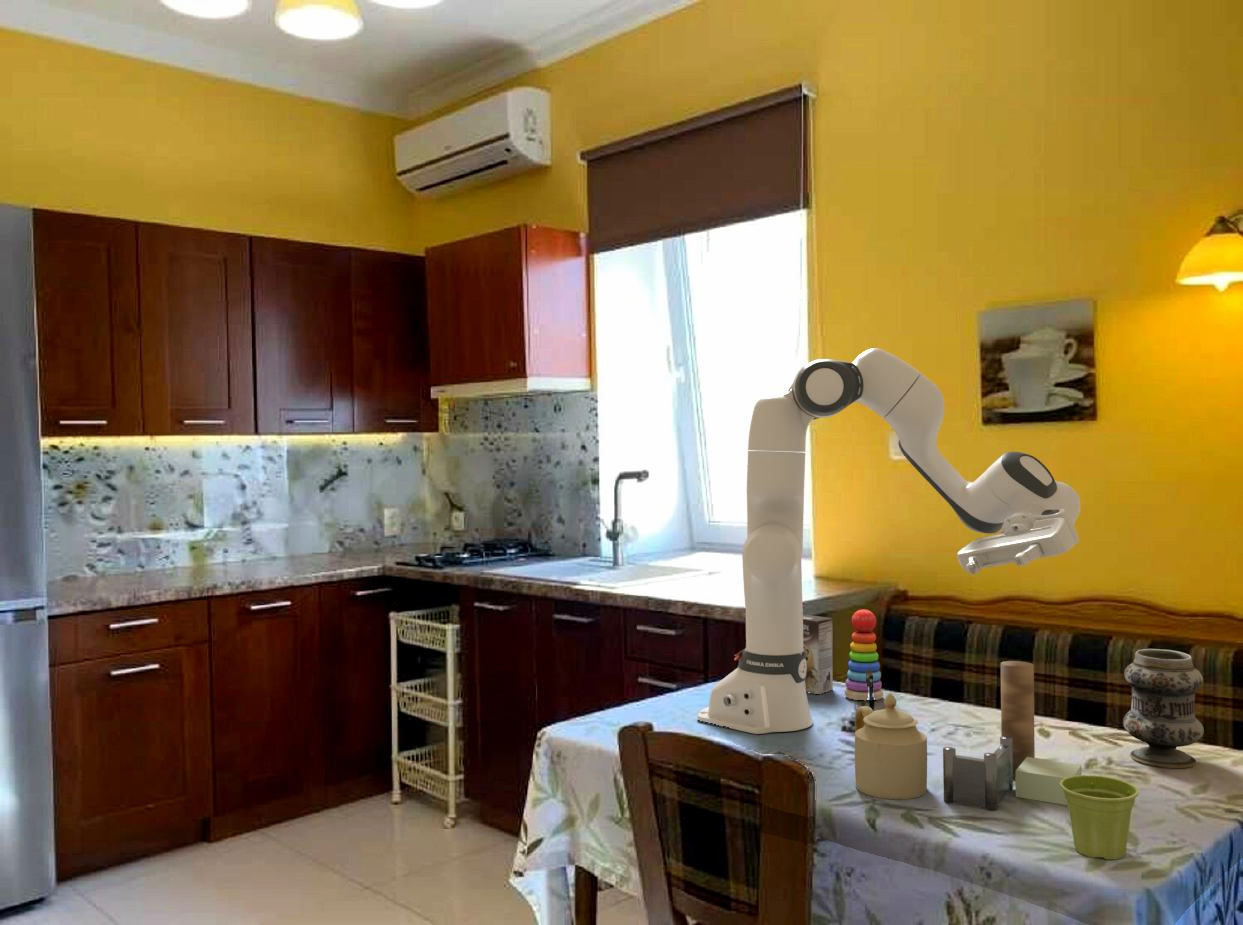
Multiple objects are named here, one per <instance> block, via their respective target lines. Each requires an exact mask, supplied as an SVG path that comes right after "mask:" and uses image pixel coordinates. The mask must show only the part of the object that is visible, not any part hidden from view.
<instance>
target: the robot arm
mask: <svg viewBox="0 0 1243 925" xmlns="http://www.w3.org/2000/svg"><path fill="white" fill-rule="evenodd" d="M853 403H858V404H860V405H864V406H866V407H867V408H869V409H870V410H872V411H873V412H875V413H876V414H877V415H878V416H879V417H880V418H882V419H883V420H884V421H885V422H887V423H888V424H889V426H890V427H891V428H892V429H893V431H894V433H895V435H896V436H897V438H898V443H897V444H898V447H899V450H900V452H901V453H902V454H903V455H904V457H905V459H906V460H907V461H908V462H909V463H910V464H911V465H912V466H913V468H914V469H915V470H916V471H917V472H918V473H919V474H920V475H921V476H922V477H923V478H924V479H925V481H926V482H928V483H929V484H930V485H931V487H932V488H933V489H935V491H936V492H937V493H938V494H939V495H940V496H941V497H942V498H943V499H944V500H945V501H946V503H948V504H949V506H950V507H951V509H953V511H954V512H955V515H956V516H957V517H958V519H960V521H961V522H962V524H963V525H965V527H967V528H968V529H970V530H972V531H974V532H976V533H980V534H990V535H988V536H983V537H979V538H976V539H974V540H973V541H971V542H969V543H968V544H967V545H965V546H964V547H962V548H961V549H960V550H959V551H958V552H957V553H956V558H957V560H958V563H959V565H960V567H961V568H962V570H963V571H966V572H967V573H968V574H969V575H975V574H978V573H980V571H982V570H981V569H985V568H990V567H995V566H1003V565H1007V564H1014V563H1015V564H1016V566H1017V567H1020V566H1021V567H1023V566H1026V565H1028V564H1029V563H1030V562H1032V561H1034V560H1038V559H1042V558H1047V557H1048V558H1049V557H1053V556H1054V557H1055V556H1059V555H1062V554H1065V553H1067V552H1068V551H1070V550H1071V549H1072V548H1073V547H1074V546H1076V545H1078V543H1079V542H1080V537H1079V534H1078V532H1077V530H1076V527H1075V523H1076V521H1077V520H1078V517H1079V516H1080V513H1081V506H1082V505H1081V499H1080V496H1079V494H1078V493H1077V491H1076V490H1075V489H1074V488H1073V487H1072V486H1070V485H1069V484H1067V483H1065V482H1062V481H1058V480H1055V478H1054V476H1053V475H1052V473H1051V471H1050V470H1049V469H1048V468H1047V466H1046V465H1045V464H1043V462H1042V461H1040V460H1039V459H1038V458H1036V457H1035V456H1034V455H1032V454H1028V453H1025V452H1020V451H1007V452H1003V454H1002V455H1001V456H1000V457H998V458H997V459H996V460H995V461H994V462H993V463H992V464H991V465H989V467H988V468H987V469H986V470H985V471H983V473H981V475H980V476H978V477H977V478H976V479H975V480H974V481H968V480H966V479H965V478H964V477H963V476H962V475H961V474H960V473H959V471H957V469H955V468H954V466H953V465H951V463H950V462H949V461H948V460H947V459H946V458H945V457H944V456H943V455H942V454H941V452H940V450H939V448H938V444H937V442H938V434H939V433H940V429H941V426H942V423H943V420H944V418H945V417H944V416H945V412H946V410H945V409H946V406H945V405H946V404H945V398H944V395H943V393H942V390H941V389H940V388H939V387H938V386H937V384H935V383H934V382H933V381H932V380H931V379H929V378H928V377H927V376H926V375H924V374H923V373H921V371H919V370H918V369H916V368H915V367H914V366H912V365H911V364H909V363H908V362H906V361H905V360H902V359H901V358H899V357H897V356H896V355H895V354H892V353H891V352H888V351H886V350H884V349H882V348H879V347H878V348H877V347H875V348H874V347H873V348H869V349H867V350H865V351H863V352H862V353H860V354H859V355H858V356H857V357H856V358H855V359H854V360H853V361H852V362H850V361H843V360H838V359H830V358H821V359H815V360H812V361H811V362H808V363H806V364H805V365H804V366H803V367H801V368H800V370H799V371H798V372H797V374H796V376H795V378H794V379H793V382H792V384H791V385H790V387H789V389H788V391H787V392H784V393H773V394H769V395H765V396H764V397H762V398H759V400H757V402H756V404H755V405H754V408H753V412H752V416H751V420H750V425H749V426H750V427H749V432H748V433H749V434H748V443H747V444H748V445H747V465H746V466H747V468H746V469H747V470H746V473H747V474H746V506H747V507H746V514H747V515H746V516H747V517H746V518H747V519H746V522H747V523H746V524H747V526H746V527H747V528H746V534H747V535H746V539H745V541H744V543H743V546H742V555H741V556H742V557H741V558H742V576H743V593H744V606H745V607H744V608H745V640H746V641H745V648H744V649H742V650H740V651H739V652H738V653H736V654H734V655H733V656H734V657H735V658H734V661H738V665H737V668H735V669H734V670H733V671H732V672H730V673H729V674H728V675H726V676H725V677H724V678H722V679H721V680H720V681H718V682H717V683H716V684H715V685H714V686H713V687H712V689H711V692H710V695H709V702H708V706H707V707H705V708H703V709H701V710H700V711H699V712H698V713H697V721H698V720H700V721H699V722H701V721H707V722H711V723H713V724H712V725H714V724H716V725H715V726H718V725H719V727H723V726H726V727H725V728H727V727H729V729H731V730H737V731H741V732H745V733H750V734H754V735H759V734H760V735H761V734H769V733H781V732H785V733H786V732H794V731H800V730H803V729H807V728H809V727H811V726H812V725H813V724H814V721H813V718H812V715H811V710H810V705H809V701H808V695H807V694H808V693H806V686H805V679H806V669H807V667H806V652H805V650H804V649H803V614H804V608H803V606H804V605H803V583H802V582H803V581H802V580H803V578H802V576H803V575H802V574H803V573H802V572H803V571H802V570H803V569H802V558H803V557H802V555H803V546H804V544H803V543H804V513H805V511H804V505H805V479H806V478H805V472H806V444H807V443H806V442H807V441H806V440H807V433H808V432H807V431H808V428H809V425H810V423H811V422H812V421H814V420H818V419H826V418H830V417H834V416H836V415H837V414H839V413H841V411H844V409H846V408H847V407H849V406H850V405H851V404H853ZM1000 531H1001V532H1000ZM998 532H1000V533H998ZM996 533H997V534H996ZM991 534H993V535H991Z"/></svg>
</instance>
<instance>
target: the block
mask: <svg viewBox="0 0 1243 925" xmlns="http://www.w3.org/2000/svg"><path fill="white" fill-rule="evenodd" d="M1082 768H1083V767H1082V764H1079V763H1074V762H1066V761H1059V760H1058V761H1057V760H1052V759H1045V758H1037V757H1035V758H1032V757H1026V759H1025V760H1024V761H1023V762H1022V763H1021V765H1020V766H1019V767H1018V768H1017V770H1016V779H1015V797H1016V798H1021V799H1025V800H1026V799H1027V800H1034V801H1039V802H1040V801H1041V802H1045V803H1046V802H1047V803H1051V804H1057V805H1063V806H1068V803H1067V799H1066V798H1065V795H1064V790H1063V789H1062V788H1061V787H1060V782H1061V780H1062V779H1064V778H1067V777H1070V776H1077V775H1082V771H1083V770H1082Z"/></svg>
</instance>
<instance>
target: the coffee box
mask: <svg viewBox="0 0 1243 925" xmlns="http://www.w3.org/2000/svg"><path fill="white" fill-rule="evenodd" d="M833 621H834V620H833V618H832V617H828V616H827V617H826V616H818V615H810V614H804V613H803V649H804V650H805V652H806V667H807V669H806V679H805V686H806V692H810V693H814V694H813V695H815V694H820V695H822V694H821V693H823V692H826V693H829V692H831V691H830V690H832V691H833V690H834V689H833V687H834V686H833V682H834V680H833V675H834V674H833V624H834V622H833ZM828 691H829V692H828ZM810 693H809V694H810ZM823 694H824V693H823Z"/></svg>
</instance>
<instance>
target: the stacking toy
mask: <svg viewBox="0 0 1243 925" xmlns="http://www.w3.org/2000/svg"><path fill="white" fill-rule="evenodd" d="M851 626H852V627H853V629H854V630H855V632H853V633H852V635H851V639H852V642H851V643H850V644H849V645H850V646H849V647H850V650H851V651H850V652H849V659H850V660H849V661H848V663H847V664H848V668H849V670H848V671H847V674H846V675H847V679H846V680H845V682H844V683H845V686H846V688H845V690H844V696H845V697H846V698H848V699H850V700H852V699H853V700H852V701H857V700H864V701H863V702H867V701H866V700H867V698H868V686H867V682H866V671H867V670H869V669H871V671H872V675H873V687H874V698H875V700H876V701H879V700H881V699H882V698H883V697H884V691H883V690H882V689H881V688H882V685H883V684H882V682H881V680H880V679H881V677H882V672H881V671H880V666H881V664H880V662H879V661H878V660H879V654H878V652H877V649H878V647H877V644H876V640H877V635H876V634H875V633H874V632H873V630H874V629H875V628H876V626H877V618H876V616H875V614H874V613H873V612H872V611H870V610H868V609H859V610H857V611H855V612H854V614H853V615H852V616H851Z"/></svg>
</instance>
